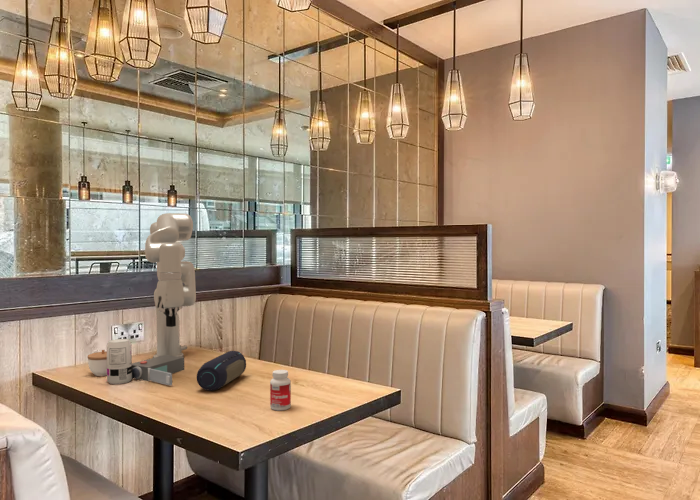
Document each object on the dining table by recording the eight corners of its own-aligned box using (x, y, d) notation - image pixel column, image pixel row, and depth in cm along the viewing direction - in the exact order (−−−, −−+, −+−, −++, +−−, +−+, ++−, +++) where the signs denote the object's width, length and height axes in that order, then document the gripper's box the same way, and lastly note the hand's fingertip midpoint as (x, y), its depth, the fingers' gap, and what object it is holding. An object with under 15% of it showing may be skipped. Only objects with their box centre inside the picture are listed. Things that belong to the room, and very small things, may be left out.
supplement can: (102, 383, 185) (101, 341, 185) (121, 377, 192) (121, 337, 192) (117, 385, 181) (116, 343, 181) (136, 380, 189) (136, 339, 188)
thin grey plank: (172, 385, 180) (172, 373, 180) (169, 386, 179) (168, 374, 179) (151, 380, 187) (151, 368, 187) (148, 381, 186) (148, 369, 186)
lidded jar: (124, 370, 203) (123, 347, 203) (108, 378, 192) (108, 353, 192) (98, 370, 204) (98, 346, 204) (81, 377, 193) (81, 352, 193)
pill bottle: (268, 411, 153) (268, 374, 153) (272, 404, 159) (271, 369, 159) (289, 411, 153) (289, 373, 153) (292, 404, 159) (291, 368, 159)
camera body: (164, 367, 208) (164, 353, 208) (186, 370, 203) (186, 356, 203) (125, 378, 191) (124, 363, 191) (147, 382, 186) (147, 366, 186)
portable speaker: (220, 394, 170) (220, 364, 170) (193, 393, 172) (192, 363, 172) (249, 375, 195) (249, 348, 195) (225, 374, 197) (225, 348, 197)
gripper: (177, 275, 198) (178, 322, 199) (146, 278, 185) (147, 328, 185) (192, 275, 195) (193, 323, 195) (162, 278, 181) (163, 330, 182)
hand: (170, 326), depth 190 cm, fingers closed
